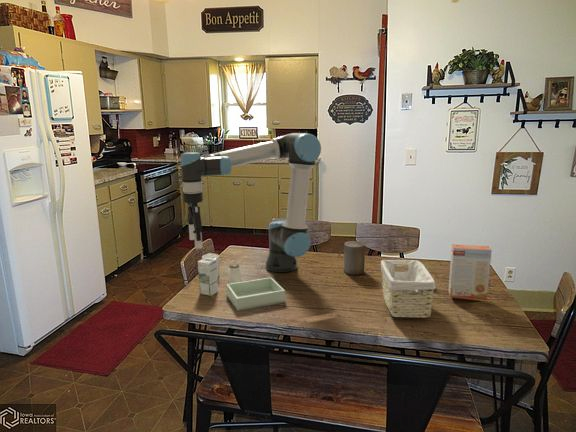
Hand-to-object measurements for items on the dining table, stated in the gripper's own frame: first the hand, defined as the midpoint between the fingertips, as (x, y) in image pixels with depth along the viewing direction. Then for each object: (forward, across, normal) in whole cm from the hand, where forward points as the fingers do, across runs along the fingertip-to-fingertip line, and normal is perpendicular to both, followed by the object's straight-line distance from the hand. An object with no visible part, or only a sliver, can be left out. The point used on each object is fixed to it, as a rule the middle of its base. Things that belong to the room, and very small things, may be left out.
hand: (195, 243), depth 167 cm
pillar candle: (+22, +2, +73) cm, 76 cm away
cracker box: (+22, +45, +100) cm, 112 cm away
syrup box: (+22, +1, +4) cm, 22 cm away
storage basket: (+22, +42, +72) cm, 86 cm away
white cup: (+22, -17, +9) cm, 29 cm away
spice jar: (+22, -2, +16) cm, 27 cm away
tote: (+22, +14, +20) cm, 33 cm away
